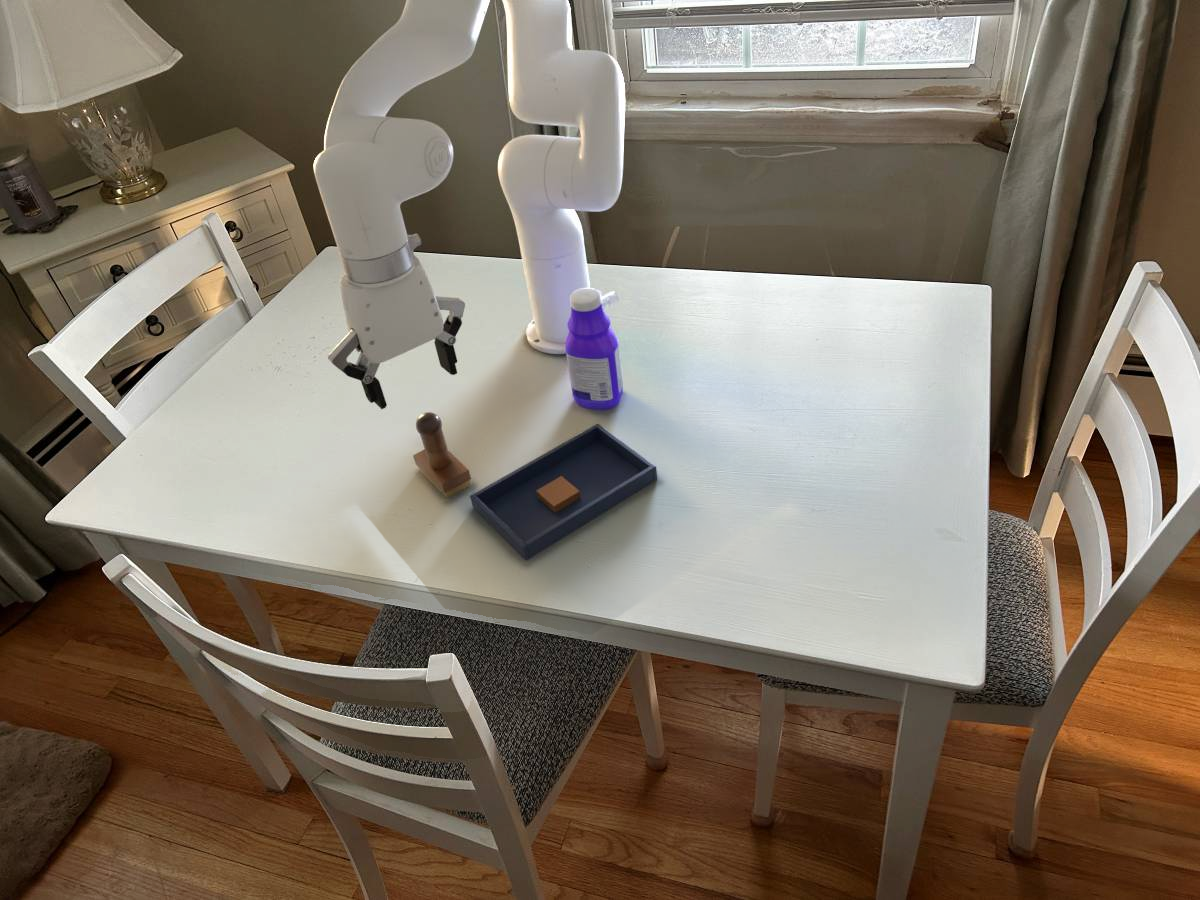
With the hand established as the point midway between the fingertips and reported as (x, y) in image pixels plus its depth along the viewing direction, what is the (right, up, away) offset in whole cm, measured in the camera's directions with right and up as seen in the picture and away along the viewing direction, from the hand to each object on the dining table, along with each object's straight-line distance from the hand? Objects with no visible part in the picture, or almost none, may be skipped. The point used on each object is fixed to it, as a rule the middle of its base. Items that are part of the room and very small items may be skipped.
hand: (414, 386), depth 110 cm
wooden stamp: (+2, -12, +10) cm, 16 cm away
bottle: (+22, -1, +20) cm, 30 cm away
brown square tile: (+17, -14, +4) cm, 22 cm away
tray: (+18, -14, +5) cm, 23 cm away
